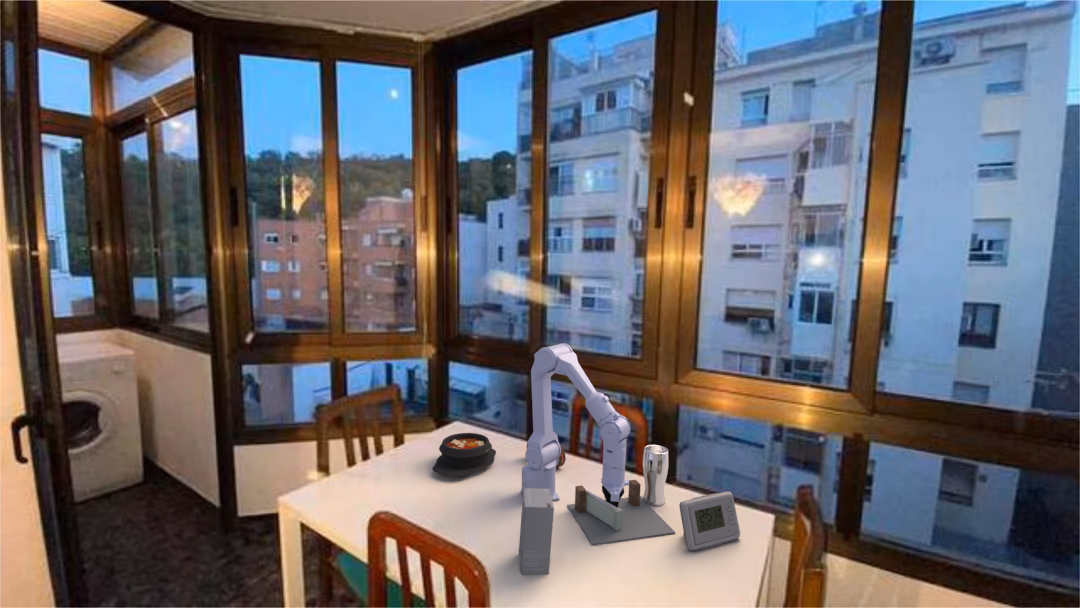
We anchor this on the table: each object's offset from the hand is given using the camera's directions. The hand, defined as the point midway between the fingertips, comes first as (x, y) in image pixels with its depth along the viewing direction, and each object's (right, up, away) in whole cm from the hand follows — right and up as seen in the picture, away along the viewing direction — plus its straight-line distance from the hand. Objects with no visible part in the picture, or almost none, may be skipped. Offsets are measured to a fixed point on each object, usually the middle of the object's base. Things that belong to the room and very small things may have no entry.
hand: (611, 514), depth 128 cm
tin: (-17, +2, +34) cm, 38 cm away
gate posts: (0, -1, +6) cm, 6 cm away
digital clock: (+23, -3, -8) cm, 24 cm away
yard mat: (+2, -2, +1) cm, 3 cm away
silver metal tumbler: (+14, -1, +11) cm, 18 cm away
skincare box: (-20, -3, -18) cm, 27 cm away
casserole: (-43, +2, +32) cm, 54 cm away
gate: (-2, -1, -1) cm, 3 cm away
